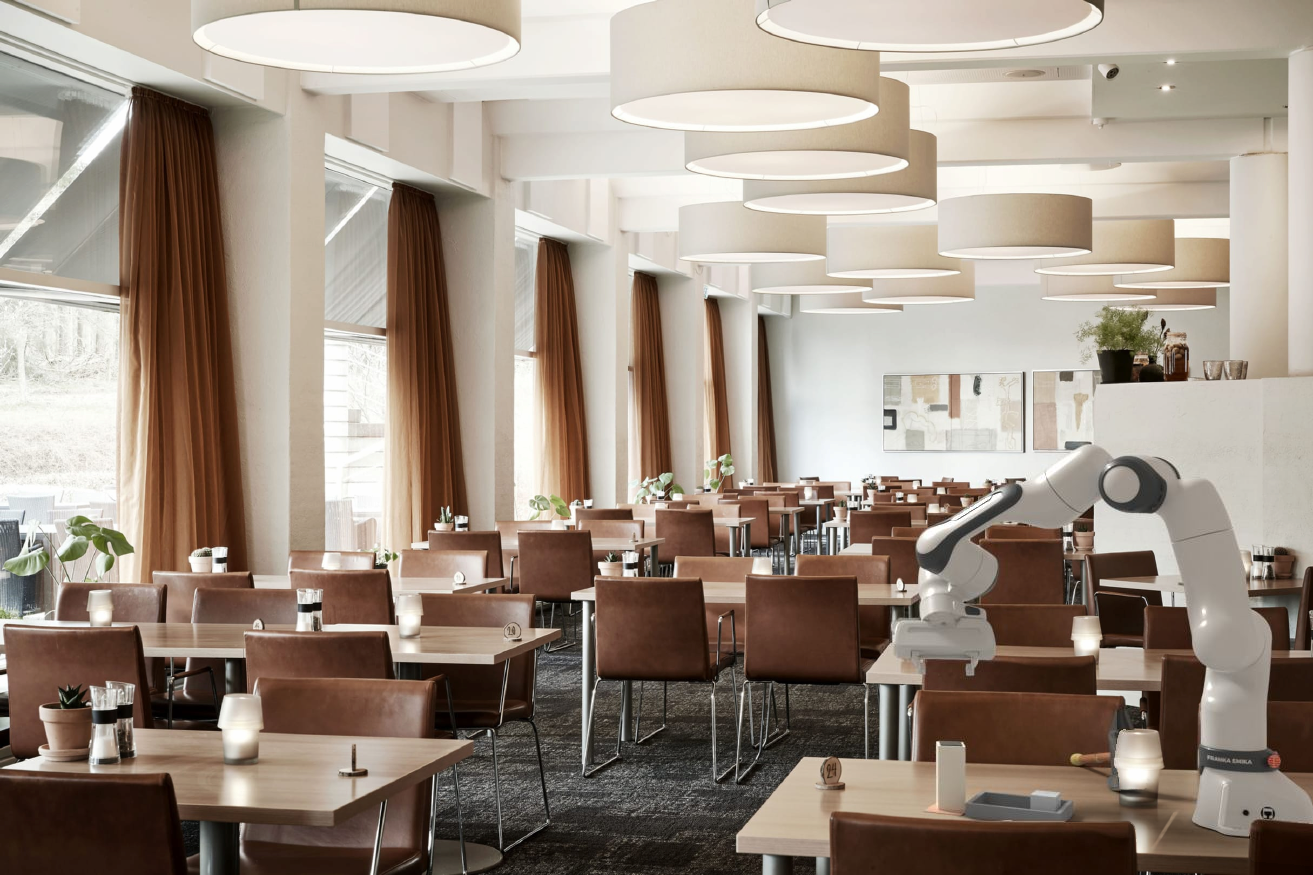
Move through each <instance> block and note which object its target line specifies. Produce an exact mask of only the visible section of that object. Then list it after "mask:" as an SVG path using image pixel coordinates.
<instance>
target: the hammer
mask: <svg viewBox="0 0 1313 875" xmlns="http://www.w3.org/2000/svg"><path fill="white" fill-rule="evenodd" d="M1129 714H1130V713H1129V712H1128V710H1127V709H1115V711H1114V715H1113V719H1112V722H1111V725H1110V726H1111V727H1110V730H1109V732H1108V734H1107V735H1108V745H1109V746H1108V747H1109V752H1096V753H1093V754H1092V753H1091V754H1081V753H1074V754H1072V755H1071V756H1070V762H1071V764H1072V765H1073V766H1083V764H1085V763H1086V764H1089V763H1101V764H1102V763H1103V762H1110V769H1111V775H1110V776H1109V777H1107V778H1106V779H1105V780H1106V784H1107V785H1106V786H1107V788H1108V790H1110V791H1120V790H1119V777H1118V772H1117V769H1116V768H1115V766H1114V758H1115V751H1116V744H1117V738H1118V735H1119V732H1120V731H1121V730H1123V729H1126V730H1135V728H1134V724H1133V723H1132V720H1131V717H1130V715H1129Z"/></svg>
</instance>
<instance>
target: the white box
mask: <svg viewBox="0 0 1313 875" xmlns="http://www.w3.org/2000/svg"><path fill="white" fill-rule="evenodd" d="M935 743H936V744H935V746H936V747H935V749H936V750H935V754H936V756H935V758H936V759H935V765H936V766H935V768H936V769H935V770H936V772H935V773H936V774H935V780H936V782H935V794H936V795H935V797H936V798H935V799H936V800H935V803H936V805H937V808H938V810H960V811H965V802H966V745H965V744H964V742H963V741H958V740H955V741H954V740H953V741H952V740H939V741H936V742H935Z"/></svg>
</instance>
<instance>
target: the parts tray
mask: <svg viewBox="0 0 1313 875" xmlns="http://www.w3.org/2000/svg"><path fill="white" fill-rule="evenodd" d="M965 802H966V801H965ZM1072 816H1074V800H1072V799H1064V798H1063V799H1061V808H1060V809H1059V810H1058V811H1057V812H1050V811H1040V810H1031V809H1030V795H1027V794H1026V795H1025V794H1015V793H1005V792H997V791H996V792H995V791H989V790H988V791H986V790H982V791H979V793H977V794H976V795H975V796H973V797H972V798H971V799H969V800H968V801H967V802H966V812H965V818H969V819H976V820H977V819H978V820H987V821H994V820H1012V821H1069V820H1070V819H1071V818H1072Z"/></svg>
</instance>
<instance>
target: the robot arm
mask: <svg viewBox="0 0 1313 875" xmlns="http://www.w3.org/2000/svg"><path fill="white" fill-rule="evenodd" d="M1112 456H1113V455H1111V454H1110V453H1109V452H1108V451H1107V450H1106V449H1104V448H1103V447H1101V446H1099V445H1096V444H1089V443H1088V444H1084V445H1081V446H1079V447H1078V448H1075V449H1074V450H1072V451H1071V452H1068V453H1067V454H1066V455H1064V456H1062V457H1061V458H1059V459H1058V460H1057V461H1055V462H1054V463H1053V464H1051V465H1050V466H1049V467H1047V468H1046V469H1045V470H1044V471H1043V472H1041V473H1039V474H1038V475H1036V476H1035V477H1032V478H1030V479H1027V480H1025V481H1021V482H1017V483H1008V484H1004V485H1002V486H1000V487H998V488H996V489H994V490H992V491H991V492H989V493H988V494H986V495H984V496H983V497H981V498H979V499H978V500H976V501H975V502H973V503H971V504H970V505H968V506H967V507H965V508H964V509H962V510H960V511H959V512H957V513H956V514H954V515H952V516H951V517H948V519H944V520H942V521H940V522H938V523H936V524H933V525H931V526H929V527H928V528H926V529H924V530H923V531H922V532H921V534H920V535H919V537H918V538H917V540H916V542H915V555H916V561H917V563H918V566H919V570H918V576H917V577H918V579H917V583H918V586H917V588H918V596H919V598H920V602H919V617H910V618H909V617H908V618H907V617H898V619H895V620H894V621H892V622H891V623H890V631H891V633H892V634H893V655H894V656H895V657H896V658H897V659H908V660H909V659H911V663H912V664H913V666H915V668H917V675H926V663H925V662H922V661H920V659H921V660H922V659H924V660H968V661H969V660H970V663H966V664H965V675H966V676H975V668H976V667H977V665H978V663H979V661H982V660H983V661H991V660H993V659H994V658H995V657H996V651H997V643H996V638H995V634H994V631H993V630H994V629H993V627H992V625H991V624H990V622H989V621H987V611H986V610H985V609H984V608H981V607H978V606H974V605H970V604H967V603H968V602H970V601H973V600H975V599H977V598H979V597H982V596H984V595H986V594H988V593H989V592H990V591H992V590H993V589H994V587H995V586H996V583H997V581H998V578H999V573H1000V565H999V561H998V558H997V557H996V556H995V555H993V554H992V553H990V552H989V551H988V550H986V549H985V548H983V547H981V546H980V545H979V544H976V543H974V542H973V541H971V540H970V539H972V538H973V537H975V536H977V535H979V534H980V533H981V532H983V531H985V530H986V529H988V528H990V527H991V526H993V525H995V524H999V523H1004V522H1010V523H1011V522H1012V523H1019V524H1026V525H1029V526H1032V527H1036V528H1041V529H1044V530H1045V529H1047V530H1055V529H1056V530H1057V529H1060V528H1063V527H1065V526H1067V525H1069V524H1071V523H1073V522H1074V521H1076V520H1077V519H1078V518H1080V516H1082V515H1083V514H1084V513H1085V512H1086V511H1088V509H1090V508H1091V507H1092V506H1093V505H1095V504H1096V503H1098V502H1099V501H1101V500H1103V501H1104V502H1105V503H1106V505H1108V506H1109V507H1110V508H1112V509H1113V510H1116V511H1119V512H1122V513H1127V514H1148V515H1149V514H1150V515H1151V514H1156V515H1158V516H1159V517H1160V518H1161V519H1162V520H1163V522H1164V525H1165V526H1166V529H1167V531H1168V536H1169V539H1170V543H1171V546H1172V549H1173V552H1174V557H1175V560H1176V563H1177V568H1178V571H1179V573H1180V577H1181V582H1182V585H1183V591H1184V596H1185V604H1186V610H1187V617H1188V622H1189V627H1190V633H1191V640H1192V641H1191V643H1192V644H1191V645H1192V650H1193V652H1194V655H1195V656H1196V658H1197V660H1199V662H1200V663H1201V664H1202V665H1204V666H1205V667H1206V668H1205V677H1204V683H1203V684H1204V685H1203V692H1202V696H1201V698H1200V699H1201V700H1200V728H1201V729H1200V739H1201V740H1200V743H1199V744H1198V750H1197V770H1198V774H1199V775H1200V776H1199V785H1198V786H1199V787H1198V794H1197V800H1196V805H1195V809H1194V812H1193V816H1192V818H1191V821H1192V822H1193V823H1194V824H1196V825H1198V826H1200V827H1202V828H1203V827H1204V828H1207V829H1211V830H1214V831H1217V832H1218V833H1220V834H1224V835H1227V836H1239V837H1249V830H1250V825H1251V823H1252V821H1254V820H1256V819H1270V820H1281V821H1292V822H1298V823H1309V824H1313V803H1312V799H1311V798H1310V796H1309V795H1308V793H1307V792H1306V791H1305V790H1304V789H1303V788H1301V786H1299V785H1297V784H1296V783H1295V782H1294V781H1293V780H1291V779H1290V778H1288V776H1286V775H1285V774H1284V773H1282V772H1281V771H1280V770H1279V769H1280V765H1281V758H1280V755H1279V754H1278V753H1279V752H1277V751H1276V750H1275V751H1273V750H1272V749H1270V748H1269V747H1267V743H1268V742H1267V739H1268V738H1267V735H1268V734H1267V730H1268V728H1267V725H1268V724H1267V723H1268V722H1267V720H1268V719H1267V708H1268V707H1267V704H1268V694H1269V693H1268V692H1269V683H1270V674H1271V673H1270V672H1271V660H1272V658H1271V657H1272V644H1273V642H1272V641H1273V635H1272V630H1271V627H1270V624H1269V623H1268V621H1267V620H1266V618H1264V616H1262V615H1261V614H1260V613H1258V612H1257V611H1255V610H1253V609H1252V606H1251V602H1250V597H1249V591H1248V586H1247V585H1248V584H1247V576H1246V575H1247V572H1246V567H1245V565H1244V561H1243V559H1242V554H1241V551H1240V548H1239V544H1238V541H1237V539H1236V534H1235V531H1234V529H1233V528H1234V527H1233V525H1232V522H1231V519H1230V516H1229V514H1228V511H1227V509H1226V506H1225V504H1224V502H1223V500H1222V497H1221V496H1220V494H1219V492H1218V490H1217V488H1216V487H1215V485H1214V484H1213V482H1211V481H1210V480H1209V479H1206V478H1203V477H1196V476H1191V477H1184V478H1181V477H1182V476H1181V475H1180V472H1179V471H1178V469H1177V468H1176V467H1175V466H1174V464H1173V463H1171V462H1170V461H1168V460H1166V459H1165V458H1162V457H1158V456H1150V455H1147V454H1132V455H1122V456H1119V457H1116V458H1113V457H1112ZM964 602H967V603H964Z"/></svg>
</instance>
